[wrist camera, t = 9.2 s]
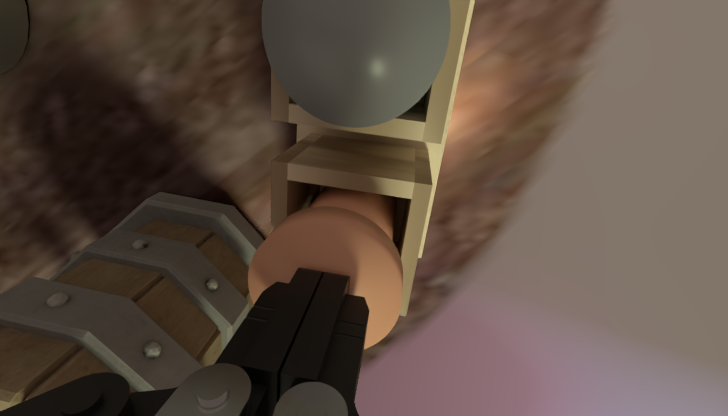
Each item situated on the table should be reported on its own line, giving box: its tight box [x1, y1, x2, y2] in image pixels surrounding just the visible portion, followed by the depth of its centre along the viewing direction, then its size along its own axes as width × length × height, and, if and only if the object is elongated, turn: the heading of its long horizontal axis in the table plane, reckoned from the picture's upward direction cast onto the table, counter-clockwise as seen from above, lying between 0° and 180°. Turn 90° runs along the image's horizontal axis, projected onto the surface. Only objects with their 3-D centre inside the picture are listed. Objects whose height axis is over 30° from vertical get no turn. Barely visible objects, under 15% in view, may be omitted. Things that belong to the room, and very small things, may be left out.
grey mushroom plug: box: [261, 0, 451, 128], centre depth 11 cm, size 5×5×7 cm
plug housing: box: [271, 0, 475, 316], centre depth 16 cm, size 7×13×9 cm, turn 173°
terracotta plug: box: [248, 186, 403, 349], centre depth 13 cm, size 5×5×7 cm
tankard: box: [0, 192, 264, 411], centre depth 21 cm, size 20×13×15 cm, turn 127°
